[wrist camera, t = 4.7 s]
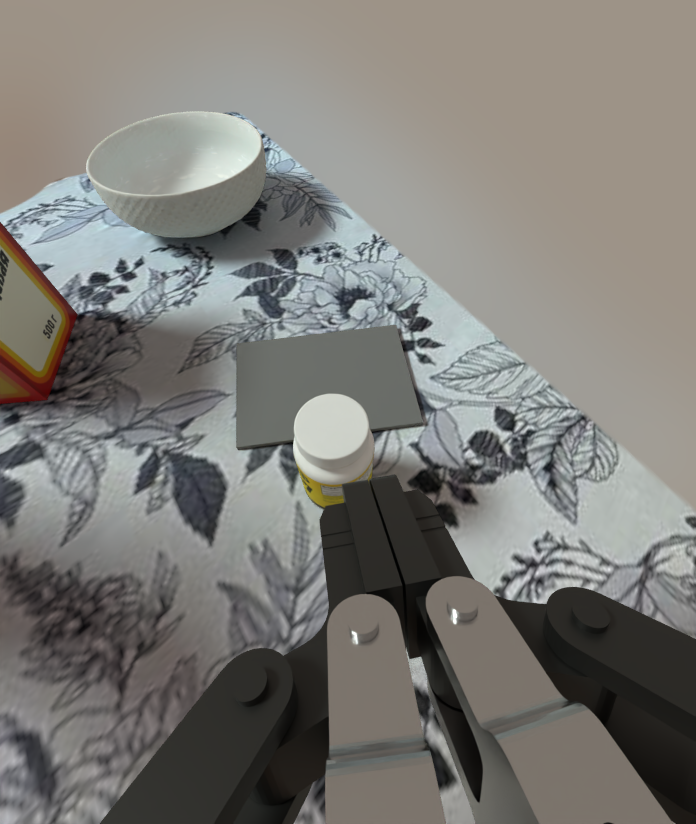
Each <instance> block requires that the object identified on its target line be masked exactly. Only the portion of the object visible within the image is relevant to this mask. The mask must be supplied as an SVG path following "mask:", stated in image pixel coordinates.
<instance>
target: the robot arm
mask: <svg viewBox="0 0 696 824" xmlns="http://www.w3.org/2000/svg"><path fill="white" fill-rule="evenodd" d="M342 492H343V499H344V503H339V504H333V505H328V506H325V509H324V511H323V513H322V516H321V518H320V529H321V537H322V546H323V555H324V564H325V573H326V582H327V590H328V599H329V610H328V615H327V618H326V621H325V623H324V625H323V626H322V628H321V629H320V631H319V632H318V633H317V634H316V635H315V636H314V637H313V638H312V639H311V640H310V641H308V642H307V643H305V644H304V645H302V646H300V647H298V648H297V649H295V650H293V651H291V652H289V653H288V654H286V655H284V656H283V655H281V654H280V653H279V652H277V651H274V650H272V649H267V648H258V649H253V650H249V651H246V652H244V653H242V654H240V655H239V656H237V657H236V658H234V659H233V660H232V661H231V662H230V663H228V664H227V665H226V667H225V668H224V669H223V670H222V671H221V672H220V674H219V675H218V676H217V677H216V679H215V680H214V681H213V682H212V684H211V685H210V686H209V687H208V689H207V690H206V691H205V692H204V694H203V695H202V696H201V697H200V699H199V700H198V701H197V702H196V704H195V705H194V706H193V707H192V709H191V710H190V711H189V712H188V714H187V715H186V716H185V717H184V719H183V720H182V721H181V722H180V724H179V725H178V726H177V727H176V729H175V730H174V731H173V733H172V734H171V735H170V736H169V738H168V739H167V740H166V741H165V743H164V744H163V745H162V746H161V748H160V749H159V750H158V751H157V753H156V754H155V755H154V756H153V758H152V759H151V760H150V761H149V763H148V764H147V765H146V766H145V768H144V769H143V770H142V771H141V773H140V774H139V775H138V776H137V778H136V779H135V780H134V781H133V783H132V784H131V785H130V786H129V788H128V789H127V790H126V791H125V793H124V794H123V795H122V796H121V798H120V799H119V800H118V801H117V803H116V804H115V805H114V806H113V808H112V809H111V810H110V811H109V813H108V814H107V815H106V816H105V818H104V819H103V820H102V821H101V823H100V824H293V823H294V821H295V819H296V817H297V815H298V813H299V811H300V809H301V807H302V805H303V803H304V801H305V799H306V797H307V795H308V793H309V791H310V788H311V786H312V783H313V782H314V781H316V780H317V779H319V778H320V777H321V776H323V775H324V774H326V775H325V810H326V824H446V821H445V816H444V812H443V807H442V802H441V797H440V793H439V788H438V783H437V779H436V774H435V770H434V765H433V761H432V757H431V754H430V750H429V747H428V745H427V744H426V742H425V739H424V735H423V731H422V726H421V722H420V717H419V712H418V707H417V702H416V697H415V692H414V687H413V683H412V678H411V673H410V668H409V663H408V658H407V653H406V648H407V652H408V655H409V659H412V658H417V657H422V661H423V664H424V667H425V670H426V673H427V687H428V694H429V697H430V700H431V703H432V705H433V708H434V711H435V713H436V716H437V719H438V721H439V724H440V726H441V729H442V732H443V734H444V737H445V740H446V742H447V745H448V748H449V750H450V753H451V755H452V758H453V761H454V763H455V766H456V769H457V771H458V774H459V777H460V779H461V782H462V785H463V787H464V790H465V792H466V795H467V798H468V800H469V803H470V806H471V809H472V813H473V816H474V820H475V824H673V823H672V821H673V822H674V823H675V824H696V639H694V638H692V637H690V636H688V635H686V634H684V633H682V632H680V631H678V630H675V629H673V628H671V627H669V626H667V625H665V624H663V623H661V622H659V621H656V620H654V619H652V618H650V617H648V616H646V615H644V614H642V613H640V612H638V611H635V610H633V609H631V608H629V607H627V606H625V605H623V604H621V603H619V602H616V601H614V600H612V599H610V598H608V597H606V596H604V595H602V594H600V593H597V592H595V591H592V590H589V589H585V588H579V587H567V588H562V589H559V590H557V591H555V592H554V593H553V594H552V595H551V596H550V597H549V599H548V601H547V604H537V603H528V602H518V601H511V600H507V599H503V598H500V597H498V596H495V595H494V594H493V593H492V592H491V591H490V590H489V589H488V588H487V587H486V586H484V585H483V584H482V583H480V582H478V581H476V580H475V579H474V578H473V576H472V575H471V573H470V571H469V570H468V568H467V566H466V564H465V562H464V560H463V558H462V556H461V555H460V553H459V551H458V549H457V547H456V545H455V543H454V541H453V540H452V538H451V536H450V534H449V532H448V530H447V529H446V528H445V525H444V523H443V521H442V519H441V517H439V513H438V512H437V510H436V508H435V506H434V504H433V502H432V500H430V499H429V498H428V497H427V496H425V495H424V494H423V493H421V492H420V491H419V490H413V491H407V492H403V490H402V487H401V485H400V483H399V481H398V478H397V476H396V475H390V476H384V477H379V478H373V479H369V481H368V480H361V481H356V482H350V483H344V484H342Z"/></svg>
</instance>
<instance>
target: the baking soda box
mask: <svg viewBox="0 0 696 824" xmlns="http://www.w3.org/2000/svg"><path fill="white" fill-rule="evenodd" d="M77 315H78V314H77V313H76V312H75V311H74V310H73V308H72V307H71V306H70V305H69V304H68V302H67V301H66V300H65V299H64V298H63V296H62V295H61V294H60V293H59V292H58V290H57V289H56V288H55V287H54V286H53V285H52V283H51V282H50V281H49V280H48V279H47V277H46V276H45V275H44V274H43V273H42V271H41V270H40V269H39V268H38V267H37V265H36V264H35V263H34V262H33V261H32V259H31V258H30V257H29V256H28V255H27V253H26V252H25V251H24V250H23V249H22V247H21V246H20V245H19V244H18V243H17V241H16V240H15V239H14V238H13V237H12V235H11V234H10V233H9V232H8V231H7V229H6V228H5V227H4V226H3V225H2V224H1V222H0V404H6V403H17V402H29V401H41V400H47V399H48V397H49V394H50V391H51V388H52V385H53V383H54V380H55V377H56V374H57V371H58V368H59V366H60V363H61V360H62V357H63V354H64V352H65V349H66V346H67V343H68V340H69V338H70V335H71V332H72V329H73V326H74V324H75V321H76V318H77Z"/></svg>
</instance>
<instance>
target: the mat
mask: <svg viewBox="0 0 696 824" xmlns="http://www.w3.org/2000/svg"><path fill="white" fill-rule="evenodd" d="M324 394H341V395H345V396H348V397H350V398H352V399H353V400H355V401H356V402H358V403H359V404H360V405H361V406H362V407H363V409H364V410H365V412H366V414H367V417H368V420H369V428H370V430H371V432H373V431H380V430H388V429H395V428H402V427H410V426H417V425H423V420H422V416H421V413H420V409H419V405H418V402H417V398H416V395H415V391H414V387H413V384H412V380H411V377H410V373H409V370H408V366H407V362H406V359H405V355H404V352H403V348H402V344H401V341H400V337H399V334H398V330H397V327H396V325H390V326H382V327H373V328H365V329H356V330H348V331H339V332H331V333H322V334H314V335H306V336H297V337H289V338H280V339H272V340H263V341H255V342H246V343H238V344H237V418H236V447H237V449H238V450H239V449H247V448H254V447H261V446H269V445H276V444H284V443H291V442H293V441H294V437H295V434H294V422H295V418H296V416H297V413H298V412H299V410H300V409H301V407H302V406H303V405H304V404H305V403H307V402H308V401H309V400H311V399H313V398H315V397H317V396H320V395H324Z"/></svg>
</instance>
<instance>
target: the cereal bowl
mask: <svg viewBox="0 0 696 824" xmlns="http://www.w3.org/2000/svg"><path fill="white" fill-rule="evenodd" d="M86 171H87V174H88V177H89V179H90V181H91V182H92V184H93V186H94V188H95V189H96V191H97V193H98V194H99V195H100V197H101V198H102V200H103V201H104V203H105V204H106V205H107V206H108V207H109V209H110V210H112V212H113V213H114V214H116V215H117V216H118V217H119V218H120V219H122V220H123V221H124V222H126V223H127V224H129V225H131V226H132V227H135V228H137V229H138V230H141V231H144V232H146V233H150V234H152V235H157V236H163V237H176V238H180V237H181V238H182V237H202V236H207V235H210V234H213V233H216V232H218V231H220V230H222V229H223V228H225V227H227V226H229V225H232V224H233V223H234V222H236V221H238V220H239V219H241V218H242V217H243V216H244V215H246V214H247V213H248V212H249V211H250V210H251V209H252V207H253V206H254V205H255V204H256V202H257V201H258V199H259V197H260V196H261V193H262V190H263V189H264V184H265V178H266V160H265V152H264V145H263V141H262V138H261V136H260V134H259V132H258V131H257V130H256V129H255V128H254V127H253V126H252V125H251V124H249V123H248V122H246V121H244V120H242V119H240V118H237V117H234V116H231V115H227V114H222V113H214V112H180V113H172V114H166V115H161V116H156V117H152V118H148V119H145V120H142V121H139V122H136V123H134V124H131V125H129V126H126V127H124V128H122V129H120V130H118V131H116V132H115V133H113V134H111V135H110V136H108V137H107V138H106V139H104V140H103V141H102V142H100V143H99V144H98V145H97V146H96V147H95V148H94V150H93V151H92V152H91V154H90V156H89V158H88V160H87V164H86Z"/></svg>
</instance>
